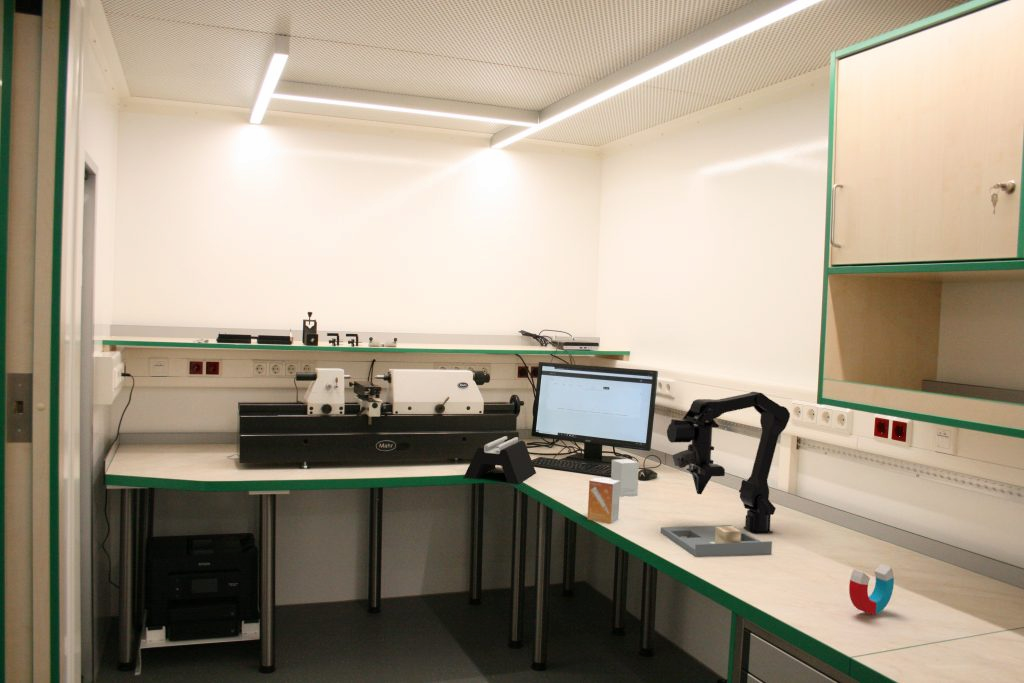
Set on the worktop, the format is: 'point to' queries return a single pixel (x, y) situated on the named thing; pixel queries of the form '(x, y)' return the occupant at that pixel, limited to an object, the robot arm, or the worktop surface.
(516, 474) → the device stand
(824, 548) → the worktop surface
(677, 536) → the board
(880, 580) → the magnet
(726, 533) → the maple block
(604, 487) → the small box
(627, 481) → the supplement box
